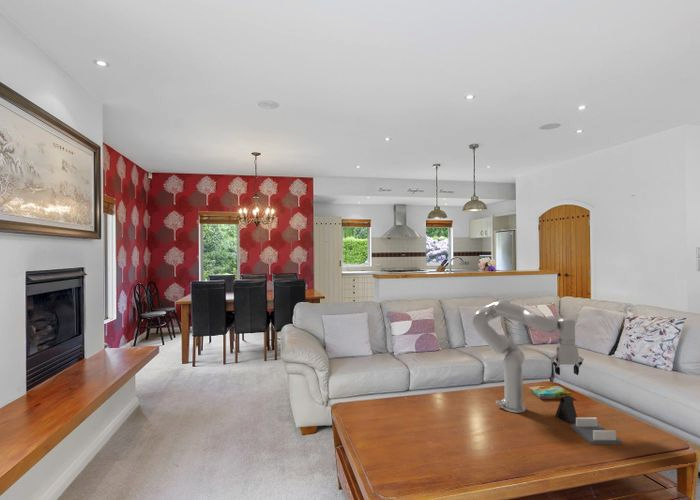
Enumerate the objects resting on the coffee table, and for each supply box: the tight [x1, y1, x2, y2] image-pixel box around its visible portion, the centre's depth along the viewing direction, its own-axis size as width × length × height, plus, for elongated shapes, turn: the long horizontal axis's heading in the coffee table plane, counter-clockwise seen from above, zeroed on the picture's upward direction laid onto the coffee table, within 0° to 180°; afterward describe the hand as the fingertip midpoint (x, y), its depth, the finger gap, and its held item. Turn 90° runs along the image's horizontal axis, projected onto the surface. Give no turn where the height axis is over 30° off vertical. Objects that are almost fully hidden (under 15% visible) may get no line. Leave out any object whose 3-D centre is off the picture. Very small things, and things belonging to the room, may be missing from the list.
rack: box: [570, 416, 622, 445], centre depth 181 cm, size 14×16×6 cm
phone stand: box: [554, 395, 578, 425], centre depth 198 cm, size 9×6×12 cm, turn 19°
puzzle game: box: [528, 385, 572, 400], centre depth 230 cm, size 12×5×20 cm
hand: (566, 374), depth 198 cm, fingers open, 9 cm apart
